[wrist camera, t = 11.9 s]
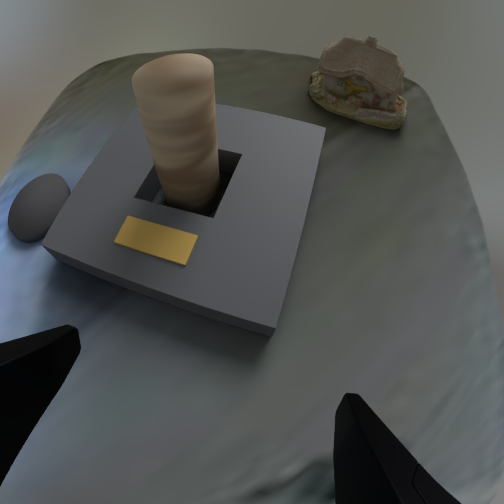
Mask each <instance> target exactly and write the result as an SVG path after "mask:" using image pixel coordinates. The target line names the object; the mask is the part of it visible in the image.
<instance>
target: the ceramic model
mask: <svg viewBox="0 0 504 504" xmlns="http://www.w3.org/2000/svg"><path fill="white" fill-rule="evenodd" d="M377 41H378V40H377V39H376V38H371V37H370V36H368V37H367V39H366V41H363V40H361V39H359V38H356V37H351V36H344V37H343V38H342V39H341V40H338V41H337V42H334V43H332V44H328V45H327V46H326V47H325V48H324V49H323V52H322V55H321V58H320V62H319V66H318V71H319V72H314V73H312V75H311V77H312V84H311V85H310V87H309V95H310V96H311V98H312V99H313V100H314V101H315V102H316V103H318V104H319V105H321V106H322V107H323V108H325V109H326V110H328V111H330V112H332V113H335V114H338V115H341V116H344V117H347V118H350V119H353V120H356V121H360V122H363V123H366V124H369V125H373V126H377V127H380V128H384V129H398V128H399V127H400V126H401V125H402V124H403V123H404V121H405V120H406V116H407V114H406V110H407V107H408V105H407V100H406V99H404V98H401V96H399V94H401V93H402V92H403V89H404V87H403V83H402V79H403V76H404V67H403V64H402V63H401V62H400V60H399V59H398V57H397V55H396V53H395V52H393V51H392V50H390V49H387V48H385V47H382V46H378V45H377Z"/></svg>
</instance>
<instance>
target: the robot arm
mask: <svg viewBox="0 0 504 504" xmlns="http://www.w3.org/2000/svg"><path fill="white" fill-rule="evenodd" d="M80 350H81V344H80V338H79V332H78V329H77V328H76V327H73V326H71V325H64V326H60V327H57V328H53V329H50V330H46V331H43V332H39V333H36V334H32V335H29V336H25V337H22V338H18V339H15V340H11V341H8V342H4V343H1V344H0V486H1V484H2V482H3V480H4V478H5V477H6V475H7V473H8V471H9V470H10V467H11V466H12V464H13V462H14V460H15V459H16V457H17V455H18V454H19V452H20V450H21V449H22V447H23V445H24V444H25V442H26V440H27V439H28V437H29V435H30V434H31V432H32V431H33V429H34V427H35V426H36V424H37V423H38V421H39V419H40V418H41V416H42V415H43V413H44V412H45V410H46V409H47V407H48V406H49V404H50V403H51V401H52V400H53V398H54V397H55V395H56V394H57V392H58V391H59V389H60V388H61V386H62V384H63V383H64V381H65V379H66V377H67V375H68V374H69V372H70V370H71V368H72V366H73V364H74V362H75V361H76V359H77V357H78V355H79V353H80ZM333 462H334V480H335V503H336V504H461V503H460V502H459V501H458V500H457V499H455V498H454V497H453V496H452V495H451V494H450V493H449V492H447V491H446V490H445V489H444V488H443V487H442V486H441V485H440V484H439V483H438V482H437V481H435V480H434V479H433V477H432V476H431V475H430V474H429V473H428V472H427V471H426V470H425V469H424V468H423V467H422V466H421V464H420V463H418V461H417V460H416V459H415V458H414V457H413V456H412V454H411V453H410V452H409V451H408V450H407V449H406V448H405V447H404V445H403V444H402V443H401V442H400V441H399V440H398V439H397V438H396V436H395V435H394V434H393V433H392V432H391V431H390V430H389V428H388V427H387V426H386V425H385V424H384V423H383V422H382V420H381V419H380V418H379V417H378V416H377V415H376V414H375V412H374V411H373V410H372V409H371V408H370V407H369V406H368V404H367V403H366V402H365V401H364V400H363V399H362V398H361V396H360V395H359V394H355V393H346V394H345V395H344V396H343V398H342V400H341V402H340V404H339V406H338V408H337V411H336V414H335V432H334V450H333Z"/></svg>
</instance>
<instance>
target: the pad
mask: <svg viewBox="0 0 504 504" xmlns="http://www.w3.org/2000/svg"><path fill="white" fill-rule="evenodd" d="M69 196H70V189H69V187H68V185H67V184H66V182H65V181H64V179H63V178H62V177H61V176H59V175H57V174H45V175H42V176H39V177H37V178H35V179H34V180H32V181H31V182H29V183H28V184H27V185H26V186H25V187H24V188H23V189H22V190H21V191H20V192H19V193H18V195H17V196H16V198H15V199H14V201H13V203H12V205H11V208H10V211H9V216H8V225H9V229H10V231H11V232H12V234H13V235H15V236H16V237H17V238H18V239H19V240H20V241H22V242H26V243H31V242H36V241H39V240H41V239H43V238H44V237H45V236H46V234H47V232H48V231H49V229H50V227H51V225H52V224H53V222H54V220H55V218H56V217H57V215H58V213H59V212H60V210H61V208H62V207H63V205H64V204H65V202H66V200H67V199H68V197H69Z"/></svg>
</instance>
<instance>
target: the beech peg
mask: <svg viewBox="0 0 504 504" xmlns="http://www.w3.org/2000/svg"><path fill="white" fill-rule="evenodd" d="M132 86H133V90H134V94H135V98H136V101H137V105H138V109H139V113H140V116H141V120H142V124H143V127H144V131H145V134H146V138H147V142H148V145H149V148H150V152H151V155H152V159H153V162H154V165H155V169H156V172H157V175H158V178H159V182H160V185H161V188H162V191H163V194H164V197H165V200H166V203H167V206H169V207H173V208H176V209H180V210H184V211H188V212H192V213H195V214H199V215H203V216H207V215H208V214H210V213H211V212H212V211H214V210H215V208H216V207H217V206H218V204H219V202H220V198H221V190H220V176H219V161H218V146H217V129H216V111H215V91H214V70H213V64H212V62H211V61H210V60H209V59H208V58H206V57H204V56H201V55H196V54H173V55H167V56H163V57H160V58H157V59H154V60H152V61H150V62H148V63H146V64H144V65H143V66H141V67H140V68H139V69H138V70H137V71H136V72H135V73H134V75H133V77H132Z"/></svg>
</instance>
